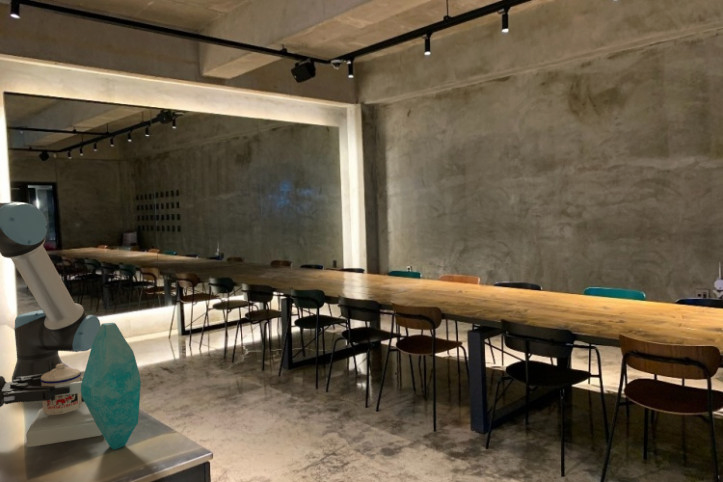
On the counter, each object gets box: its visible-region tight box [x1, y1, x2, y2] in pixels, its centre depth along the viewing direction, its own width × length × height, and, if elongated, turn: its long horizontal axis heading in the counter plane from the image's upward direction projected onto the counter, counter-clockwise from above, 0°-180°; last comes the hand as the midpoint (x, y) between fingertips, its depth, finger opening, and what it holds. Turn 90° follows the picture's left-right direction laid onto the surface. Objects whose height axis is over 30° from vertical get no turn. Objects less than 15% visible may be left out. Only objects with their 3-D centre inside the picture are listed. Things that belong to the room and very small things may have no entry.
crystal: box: [81, 322, 142, 450], centre depth 122 cm, size 12×14×30 cm
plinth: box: [25, 401, 103, 448], centre depth 134 cm, size 16×16×4 cm
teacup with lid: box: [40, 362, 83, 415], centre depth 134 cm, size 12×9×12 cm
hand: (87, 380), depth 135 cm, fingers closed on teacup with lid, 9 cm apart
